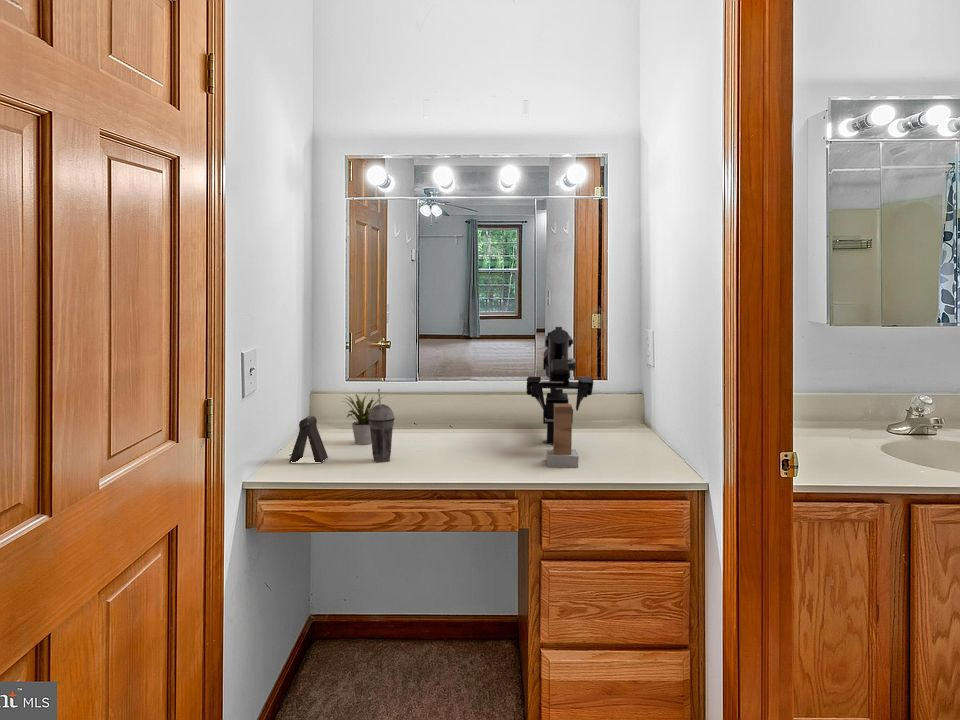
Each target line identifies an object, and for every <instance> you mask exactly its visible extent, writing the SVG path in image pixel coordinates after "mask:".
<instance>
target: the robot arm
mask: <svg viewBox="0 0 960 720" xmlns="http://www.w3.org/2000/svg"><path fill="white" fill-rule="evenodd" d="M544 340H545V341H544V342H545V343H544V347H545V348H546V349H545V350H544V351H543V354H542V356H543V358H542V359H543V361H542V362H543V368H542V369H543V371H545V373H544V374H545V377H547V378H548V380H542V378H541V376H538V375H537V376H536V375H533V376H532V375H529V376H528V377H527V378H526V395H528V396H531V397H532V398H535V400H536V401H537V402H538V404H539V406H540V407H541V409H542V411H543V412H542V413H543V414H542V415H543V416H542V417H543V418H542V424H543V425H546V439H545V440H542V443H543V444H549V445H550V444H551V445H553V439H554V404H570V402H569V397H568V393H567V392H564V390H577V393H576V402H575V410H576V412H578V411H579V410H580V409H579V408H580V406H581V403H582V401H583V400H584V398H587V397H588V396H591V395H592V393H593V388H594V378H592V376H578V379H577V381H570V379H571V372H572V371H573V372H575V371H576V370H577V369H576V368H577V361H576V360H577V359H576V358H574V357H572V358H571V357H570V358H569V348H571V346H572V345H573V344H574V339H573V338H572V336H571V335H570V334H569V332H568V331H566V330H565V329H563V326H555V329H553V330H551V331H548V332H547V335H544ZM543 389H549V392H547V393H546V397H544V396H545V395H544V391H543ZM573 419H574V409H573V408H572V424H573V422H574V421H573Z"/></svg>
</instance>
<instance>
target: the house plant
mask: <svg viewBox="0 0 960 720" xmlns="http://www.w3.org/2000/svg"><path fill="white" fill-rule="evenodd" d="M354 395H355V397H356V400H357V401H355V402H354V400H353V398H352V397H351V396H349V395H348V394H343V393H342V396H347V397H348V398H349V399H348V398H345V397H344V398H343V399H344V400H348V401H349V402H350V403H349V402H347V401H343V400H342V401H341V402H344V403H347V405H349V406H350V408H351V410H348V412H345V413H347V415H346V418H349V417H352V418H353V419H354V420H355V421H354V422H352V423H351V427H352V432H353V437H354V443H355V445H357V444H359V445H358V446H367V444H368V445H372V442H371V432H370V427H369V420H368V418H369V413H370V411H371V409H372V408H373V407H374V406H376V405H377V403H379V398H378V399H377V400H376V401H375V399H374V396H372V397H371V399H370V400H369V402H368V404H367V405H366V407H365V399H366V397H367V396H368V394H367V391H366V392H365V395H364V397H363V399H362V400H361V399H360V398H359V395H358V394H357V393H356V392H355V394H354ZM385 397H386V396H381V397H380V399H383V398H385ZM374 401H375V403H373V402H374ZM351 404H352V405H351ZM372 404H373V405H372ZM352 406H353V407H354V408H355V409H354V408H353V407H352ZM364 408H365V409H364Z"/></svg>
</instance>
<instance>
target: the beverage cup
mask: <svg viewBox="0 0 960 720" xmlns="http://www.w3.org/2000/svg"><path fill="white" fill-rule="evenodd" d="M377 393H378V399H379V401H378V404H375V405H374V406H373V408H372V407H371V408H372V409H371V411H370V413H369V412H368V413H369V418H368V420H369V427H370V432H371V442H372V444H371V450H372V457H373V462H374V463H388V462H390V461H391V455H392V454H391V453H392V441H393V428H394V424H395V419H396V418H395V415H394V412H393V410H392V408H391V407H390V406H388V405H386V404H382V401H381V399H382V398H381V389H380V388H378V389H377ZM380 398H381V399H380Z"/></svg>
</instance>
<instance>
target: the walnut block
mask: <svg viewBox="0 0 960 720" xmlns="http://www.w3.org/2000/svg"><path fill="white" fill-rule="evenodd" d="M572 409H573V405H572V404H571V403H569V404H554V439H553V444H552V445H553V451H554V454H560V455H571V449H572V439H573V438H572V432H573V430H572V428H573V426H572V425H573V423H572Z"/></svg>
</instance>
